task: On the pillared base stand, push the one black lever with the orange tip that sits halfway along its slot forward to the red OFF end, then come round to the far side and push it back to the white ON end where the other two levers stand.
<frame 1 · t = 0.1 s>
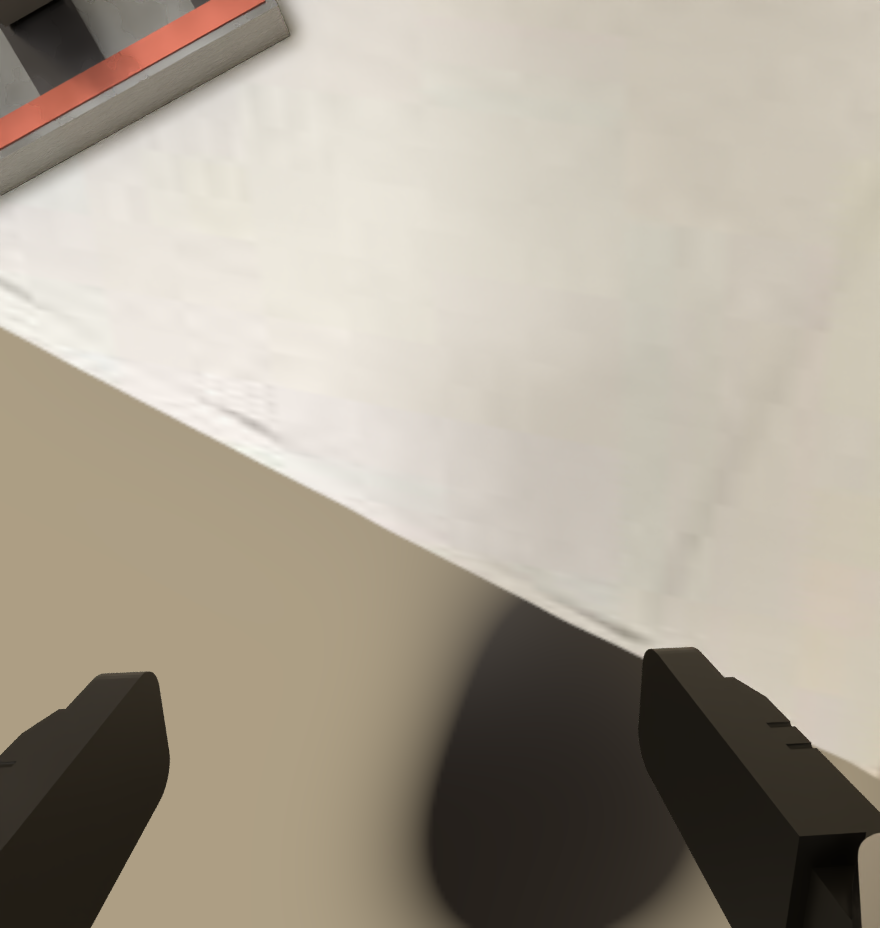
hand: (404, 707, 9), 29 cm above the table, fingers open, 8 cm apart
pillared base stand: (59, 24, 31), on the table
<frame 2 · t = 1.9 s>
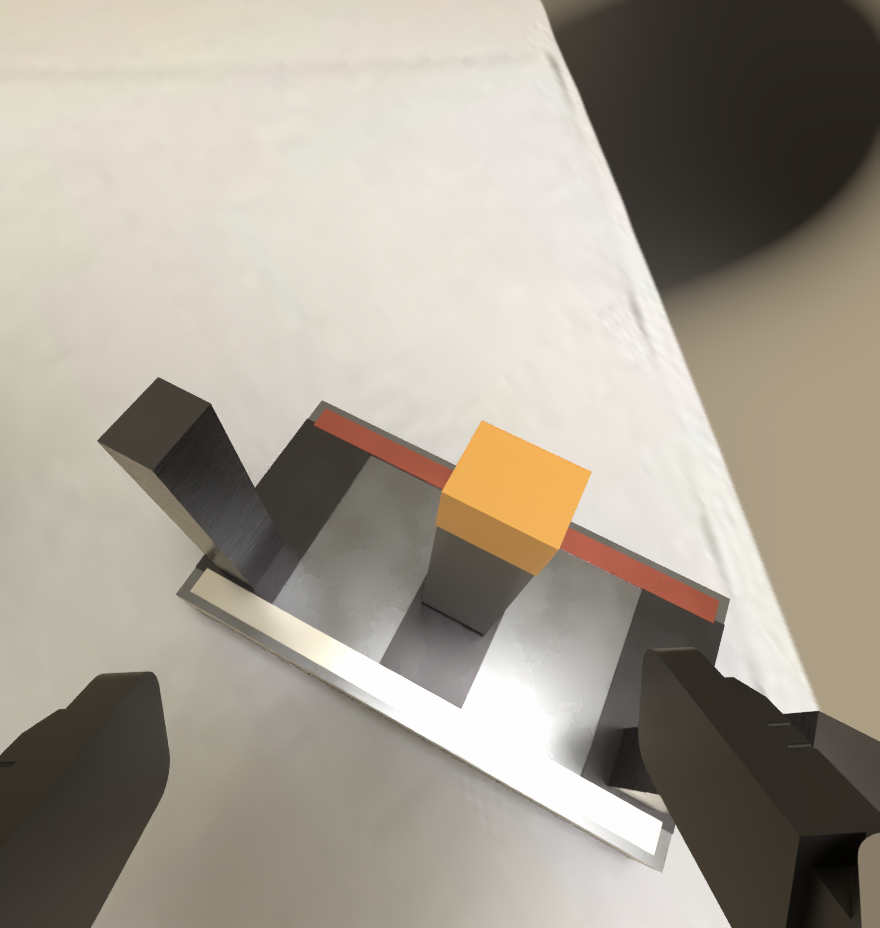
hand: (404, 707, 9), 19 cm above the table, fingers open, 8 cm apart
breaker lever: (484, 553, 20), point 9 cm above the table, slide at 0.0 cm
pillared base stand: (456, 611, 28), on the table
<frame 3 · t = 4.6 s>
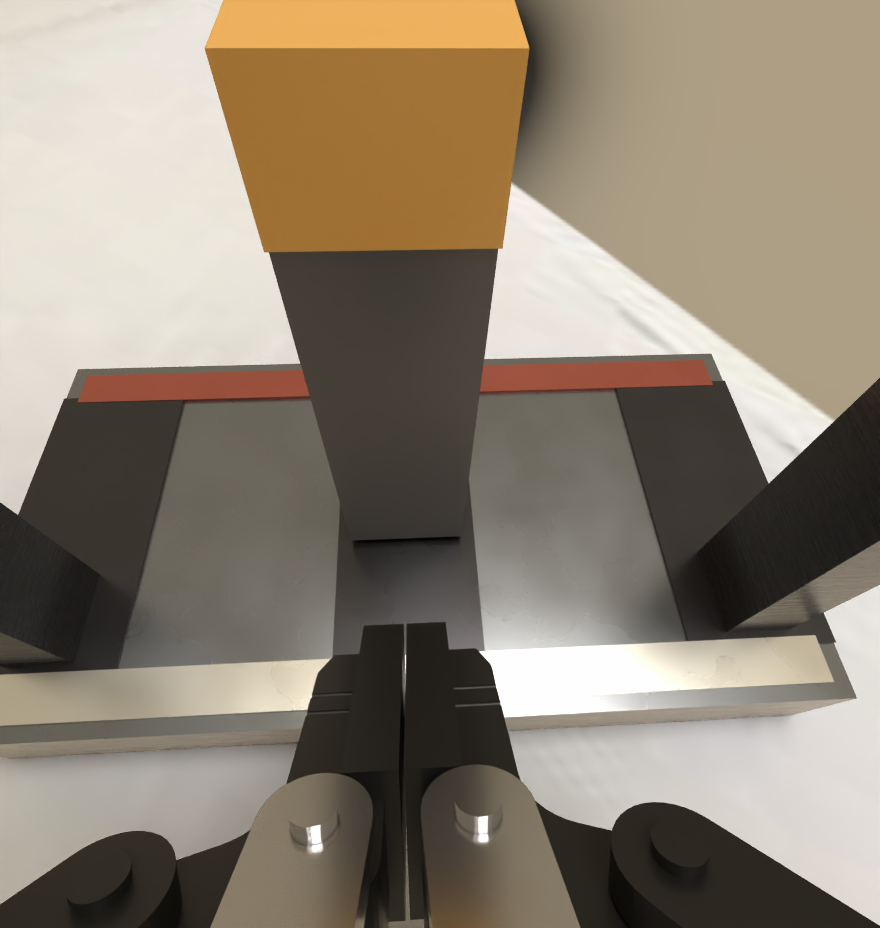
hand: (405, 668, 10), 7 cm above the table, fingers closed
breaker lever: (395, 363, 11), point 9 cm above the table, slide at 0.0 cm
pillared base stand: (408, 547, 19), on the table
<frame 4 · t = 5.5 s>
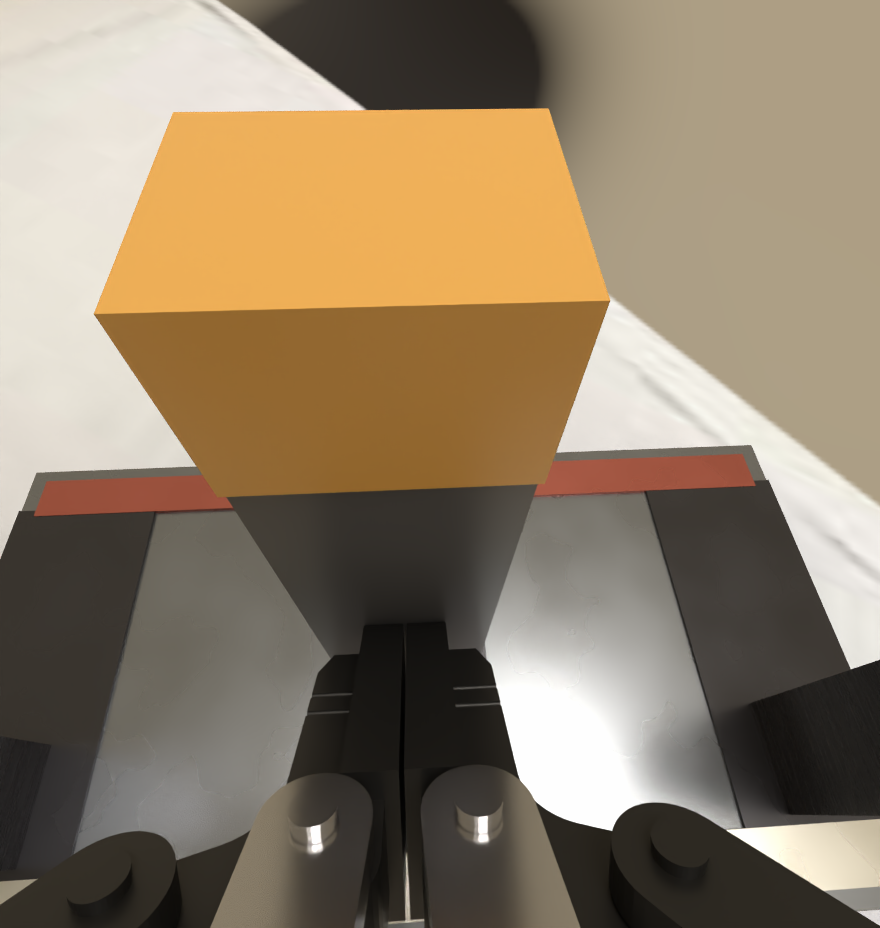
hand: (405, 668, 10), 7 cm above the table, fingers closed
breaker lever: (398, 532, 9), point 9 cm above the table, slide at 0.4 cm, touching gripper
pillared base stand: (412, 673, 17), on the table
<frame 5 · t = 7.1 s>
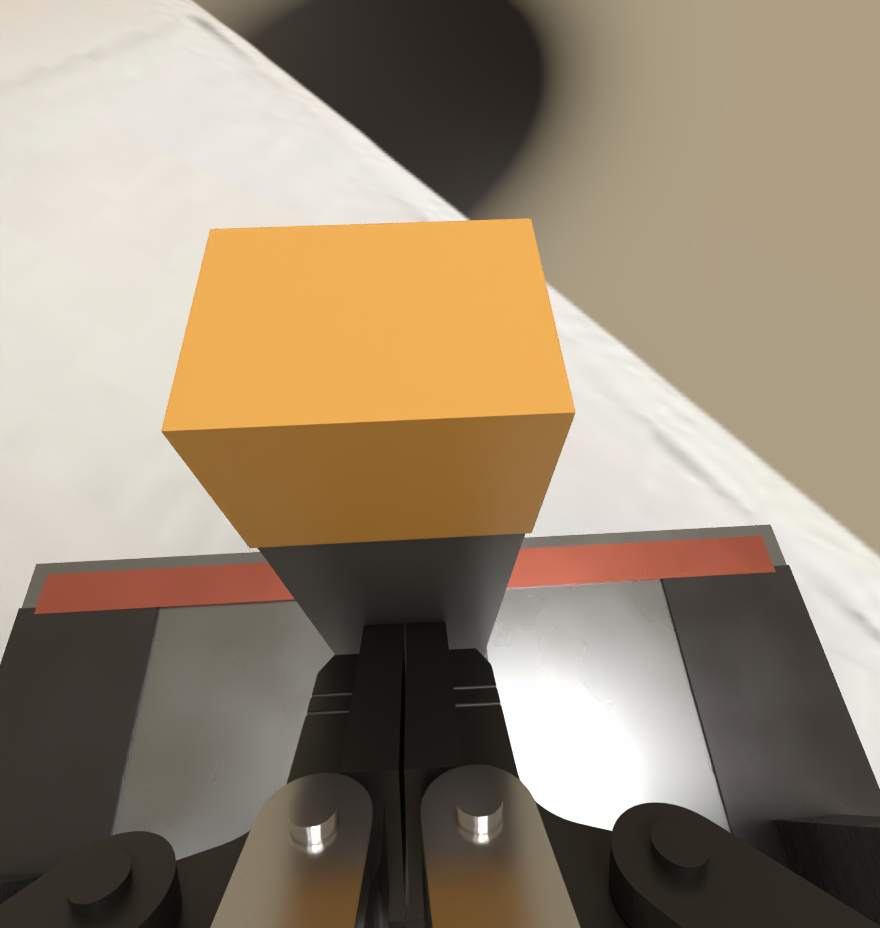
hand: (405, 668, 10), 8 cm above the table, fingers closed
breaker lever: (404, 555, 10), point 9 cm above the table, slide at 3.1 cm
pillared base stand: (422, 765, 17), on the table
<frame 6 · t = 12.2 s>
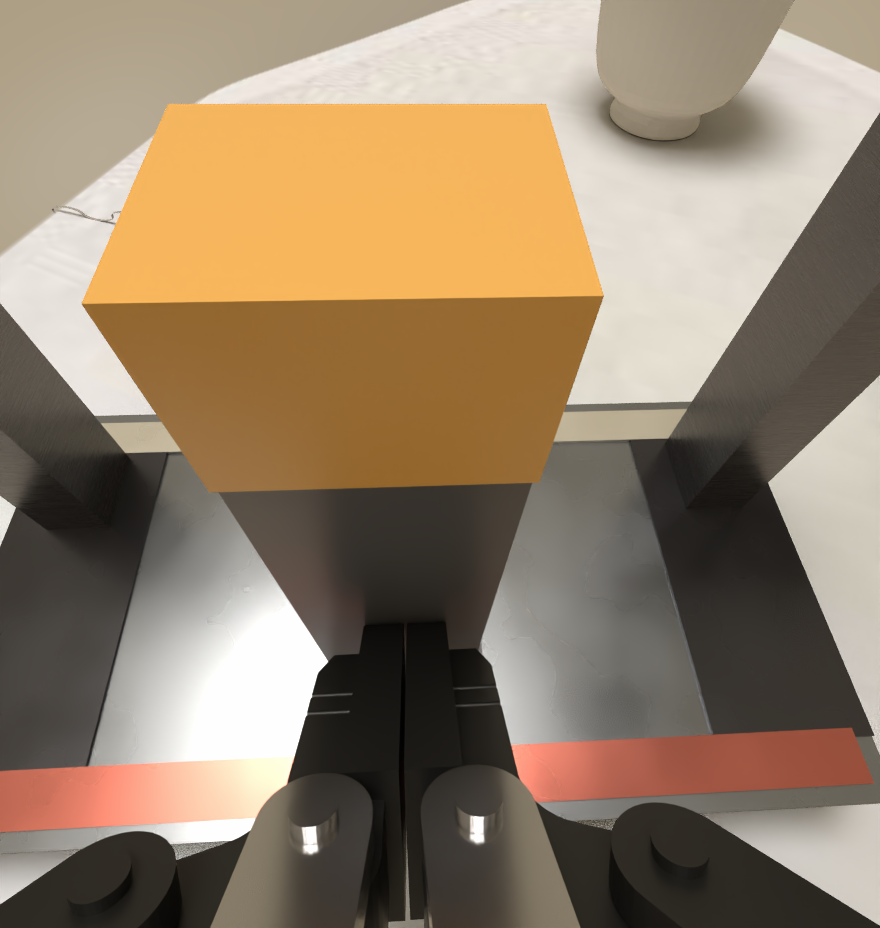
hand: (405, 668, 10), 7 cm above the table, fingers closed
teacup: (648, 110, 37), on the table
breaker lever: (393, 530, 9), point 9 cm above the table, slide at 1.6 cm, touching gripper
pillared base stand: (407, 609, 18), on the table
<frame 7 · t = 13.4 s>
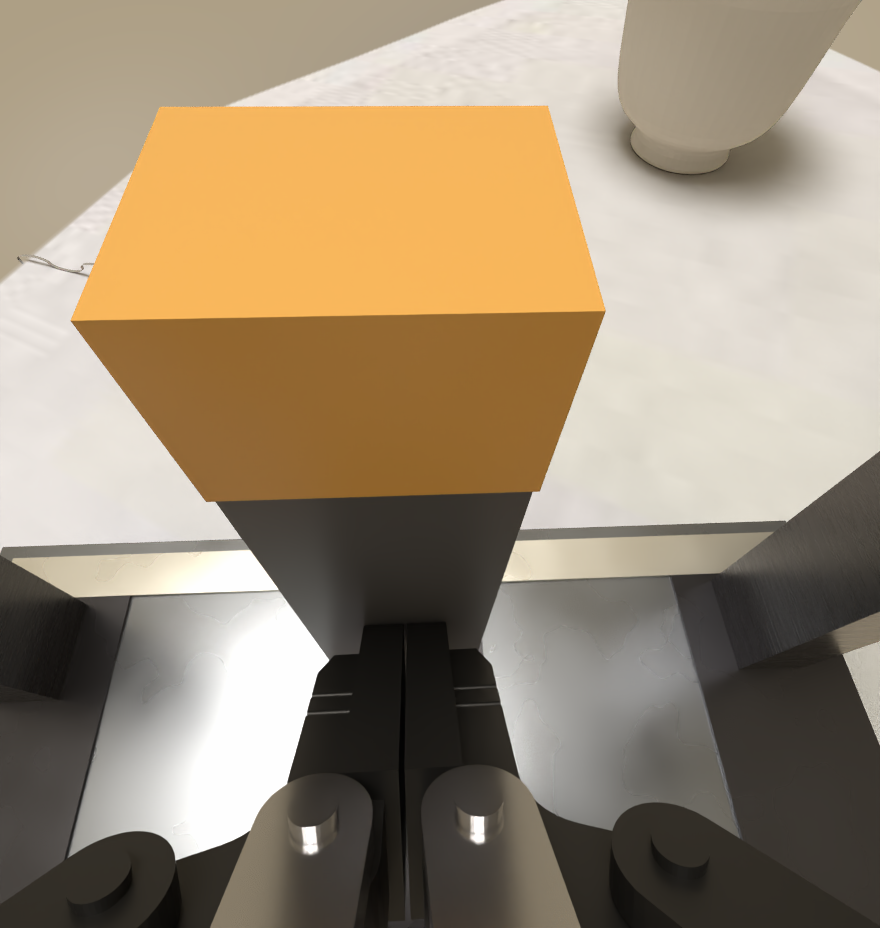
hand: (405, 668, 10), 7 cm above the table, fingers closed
teacup: (672, 137, 34), on the table
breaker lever: (393, 532, 9), point 9 cm above the table, slide at -3.2 cm, touching gripper
pillared base stand: (411, 770, 16), on the table
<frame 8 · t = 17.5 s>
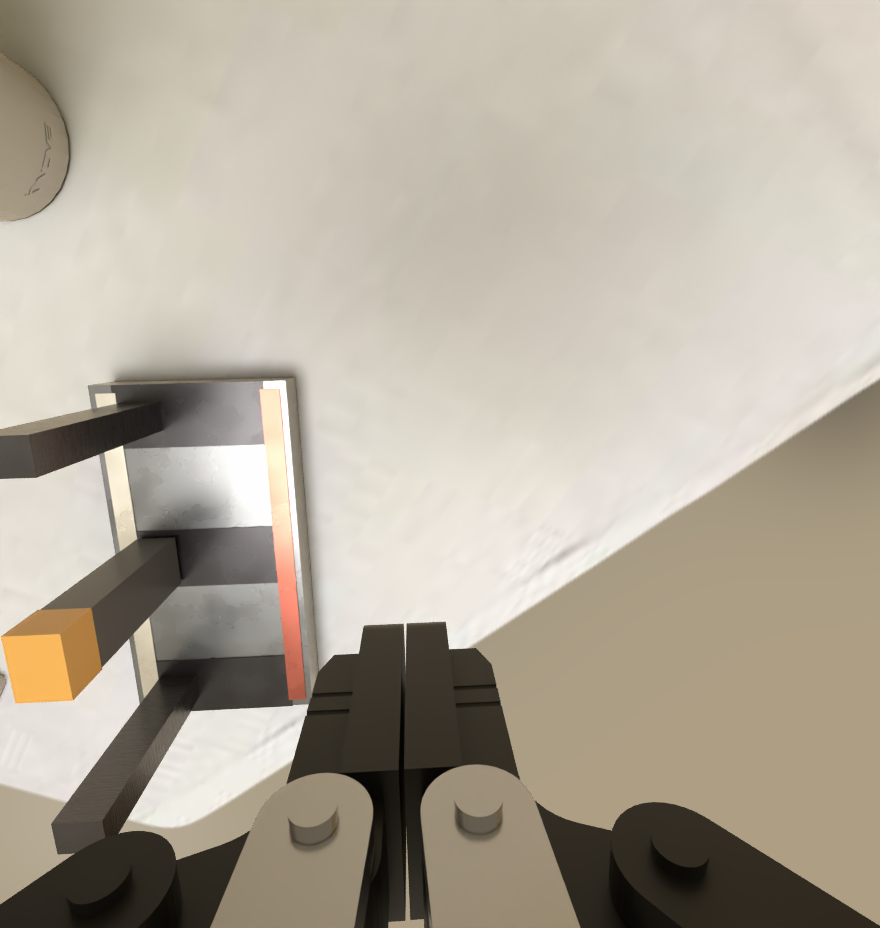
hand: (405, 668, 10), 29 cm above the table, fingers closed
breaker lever: (110, 604, 30), point 9 cm above the table, slide at -3.0 cm
pillared base stand: (223, 540, 40), on the table
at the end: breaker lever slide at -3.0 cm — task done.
